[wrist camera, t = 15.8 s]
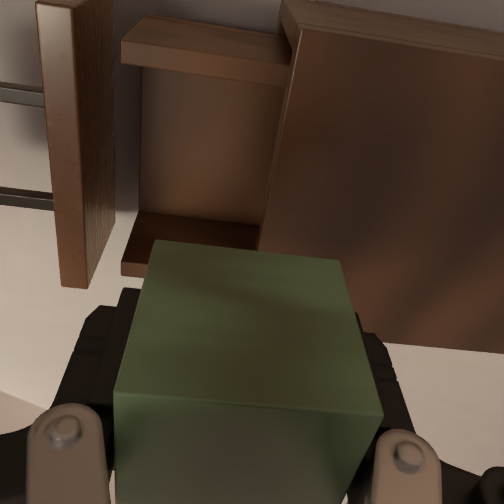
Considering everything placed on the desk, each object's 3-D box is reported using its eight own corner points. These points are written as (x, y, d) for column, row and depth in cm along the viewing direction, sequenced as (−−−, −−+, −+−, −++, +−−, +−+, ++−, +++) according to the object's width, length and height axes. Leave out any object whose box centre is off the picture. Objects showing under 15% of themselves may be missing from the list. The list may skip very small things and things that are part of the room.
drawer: (-18, 206, 26) (-77, 273, 21) (-65, -44, 19) (-167, -32, 14) (350, 249, 28) (374, 319, 23) (419, 36, 21) (472, 70, 17)
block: (149, 367, 14) (114, 532, 10) (155, 237, 12) (112, 393, 8) (302, 381, 15) (323, 543, 11) (340, 259, 12) (385, 415, 8)
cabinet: (241, 236, 28) (242, 329, 22) (281, -5, 21) (300, 27, 15) (492, 265, 30) (561, 360, 24) (608, 50, 23) (753, 101, 16)
